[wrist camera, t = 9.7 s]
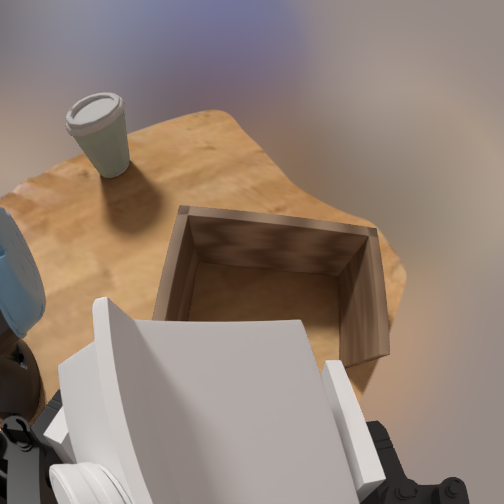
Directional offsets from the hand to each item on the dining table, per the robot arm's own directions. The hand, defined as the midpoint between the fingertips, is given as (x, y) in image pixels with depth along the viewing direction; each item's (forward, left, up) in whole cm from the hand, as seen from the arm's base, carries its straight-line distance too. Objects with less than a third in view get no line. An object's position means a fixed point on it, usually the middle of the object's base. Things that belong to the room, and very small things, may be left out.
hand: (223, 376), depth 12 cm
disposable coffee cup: (-26, +34, -22) cm, 48 cm away
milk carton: (0, -3, -9) cm, 10 cm away
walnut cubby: (+4, +10, -22) cm, 24 cm away
